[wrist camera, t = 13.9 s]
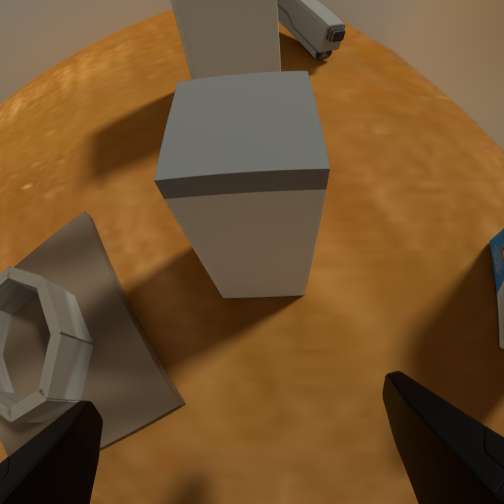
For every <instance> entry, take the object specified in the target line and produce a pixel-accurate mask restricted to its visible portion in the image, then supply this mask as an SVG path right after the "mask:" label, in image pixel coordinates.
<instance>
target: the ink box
mask: <svg viewBox="0 0 504 504" xmlns="http://www.w3.org/2000/svg"><path fill="white" fill-rule="evenodd" d="M489 244H490V249H491V255H492V262H493V269H494V276H495V283H496V292H497V302H498V317H499V340H500V348H503V349H504V229H503V230H502V231H501V232H499V233H498V234H497V235H496V236H495V237H494V238H493V239H491V240H490V242H489Z"/></svg>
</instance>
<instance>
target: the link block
mask: <svg viewBox="0 0 504 504" xmlns="http://www.w3.org/2000/svg"><path fill="white" fill-rule="evenodd" d="M329 171H330V167H329V162H328V157H327V152H326V147H325V142H324V137H323V133H322V128H321V124H320V119H319V115H318V111H317V106H316V102H315V98H314V94H313V90H312V86H311V82H310V78H309V75H308V71H279V72H260V73H246V74H234V75H225V76H216V77H208V78H200V79H193V80H186V81H180V82H178V83H177V87H176V91H175V94H174V98H173V101H172V105H171V109H170V113H169V117H168V121H167V125H166V129H165V133H164V137H163V141H162V146H161V150H160V155H159V159H158V164H157V169H156V173H155V178H154V181H155V183H156V185H157V187H158V189H159V190H160V192H161V194H162V196H163V197H164V199H165V201H166V203H167V204H168V206H169V208H170V210H171V211H172V213H173V215H174V217H175V218H176V220H177V222H178V224H179V225H180V227H181V229H182V230H183V232H184V234H185V236H186V237H187V239H188V241H189V242H190V244H191V246H192V247H193V249H194V251H195V253H196V254H197V256H198V258H199V259H200V261H201V263H202V264H203V266H204V268H205V269H206V271H207V272H208V274H209V276H210V277H211V279H212V281H213V282H214V284H215V286H216V287H217V289H218V290H219V292H220V294H221V295H222V297H223V298H250V297H277V296H299V295H305V290H306V286H307V281H308V277H309V272H310V268H311V263H312V259H313V254H314V249H315V244H316V240H317V235H318V230H319V225H320V220H321V214H322V209H323V204H324V199H325V193H326V188H327V182H328V176H329Z"/></svg>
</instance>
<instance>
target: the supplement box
mask: <svg viewBox="0 0 504 504" xmlns="http://www.w3.org/2000/svg"><path fill="white" fill-rule="evenodd" d="M171 3H172V7H173V11H174V15H175V18H176V22H177V26H178V30H179V34H180V37H181V41H182V45H183V48H184V52H185V56H186V59H187V63H188V67H189V71H190V74H191V78H192V80H193V79H200V78H208V77H216V76H225V75H234V74H246V73H260V72H279V71H281V62H280V42H279V25H278V10H277V0H171Z"/></svg>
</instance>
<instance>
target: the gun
mask: <svg viewBox="0 0 504 504" xmlns="http://www.w3.org/2000/svg"><path fill="white" fill-rule="evenodd" d="M277 10H278V21H279V22H280V23H281V24H282V25H283V26H284V27H285V28H286V29H287V30H288V31H289V32H290V33H291V34H292V35H293V36H294V37H295V38H296V39H297V40H298V41H299V42H300V43H301V44H302V45H303V46H304V47H305V48H306V49H307V50H308V51H309V52H310V54H311V55H312V56H313V57H314V58H315V59H321V58H325V57H329V56H330V55H331V53H332V50H336V49H339V46H340V42H341V41H342V40H343V38H344V35H345V31H344V30H345V24H344V23H343V22H342V21H341V20H340V19H339V18H337V17H336V16H335V15H334V14H333V13H332V12H330V11H329V10H328V9H327V8H326V7H325V6H323V5H322V4H321V3H320V2H319V1H317V0H277Z"/></svg>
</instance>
